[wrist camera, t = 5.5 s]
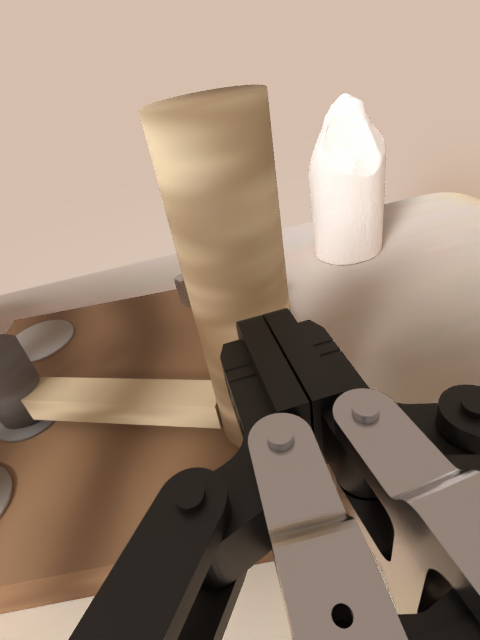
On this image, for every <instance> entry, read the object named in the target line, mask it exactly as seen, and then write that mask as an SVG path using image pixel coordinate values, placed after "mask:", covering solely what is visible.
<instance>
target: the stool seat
mask: <svg viewBox="0 0 480 640" xmlns="http://www.w3.org/2000/svg"><path fill="white" fill-rule="evenodd" d="M7 334H10V335H14V336H16V337H17V339H18V341H19V342H20V344H21V346H22V347H23V349H24V351H25V352H26V354H27V356H28V357H29V359H30V361H31V362H32V364H33V366H34V367H35V369H36V371H37V372H38V374H39V376H40V377H71V378H123V379H176V380H211V379H210V375H209V371H208V367H207V364H206V360H205V356H204V353H203V349H202V345H201V341H200V338H199V334H198V330H197V327H196V323H195V319H194V315H193V312H192V308H191V305H190V306H188V307H186V306H185V305H183V304H182V303H181V302H180V298H179V295H178V291H177V290H171V291H166V292H161V293H156V294H151V295H145V296H140V297H135V298H130V299H124V300H119V301H114V302H109V303H104V304H98V305H93V306H88V307H83V308H78V309H72V310H67V311H62V312H57V313H52V314H46V315H41V316H36V317H31V318H26V319H20V320H15V321H14V323H13V324H12V326H11V328H10V329H9V331H8V332H7ZM238 450H239V447H238V446H236V445H235V444H233V443H232V442H231V441H230V440H229V439H228V437H227V435H226V433H225V431H224V427H223V423H222V426H221V429H218V428H197V427H176V426H156V425H135V424H114V423H94V422H73V421H52V420H38V421H36V422H35V423H33V424H31V425H29V426H27V427H24V428H20V429H8V428H6V427H4V426H3V425H2V423H1V422H0V614H2V613H8V612H13V611H18V610H23V609H28V608H33V607H38V606H44V605H49V604H54V603H59V602H64V601H69V600H75V599H80V598H85V597H90V596H95V595H96V594H97V592H98V591H99V589H100V587H101V586H102V584H103V582H104V581H105V579H106V578H107V576H108V574H109V573H110V571H111V569H112V568H113V566H114V565H115V563H116V561H117V560H118V558H119V556H120V555H121V553H122V551H123V550H124V548H125V547H126V545H127V543H128V542H129V540H130V538H131V537H132V535H133V534H134V532H135V530H136V529H137V527H138V525H139V524H140V522H141V520H142V519H143V517H144V516H145V514H146V512H147V511H148V509H149V507H150V506H151V504H152V503H153V501H154V499H155V498H156V496H157V494H158V493H159V491H160V489H161V488H162V487H163V485H164V484H165V483H166V482H167V481H168V479H170V478H171V477H172V476H173V475H175V474H176V473H178V472H180V471H182V470H185V469H188V468H194V467H203V468H207V469H210V470H212V471H214V470H216V469H217V468H219V467H220V466H222V465H223V464H225V463H226V462H228V461H229V460H230V459H231V458H232V457H233V456H234V455H235V454H236V453H237V452H238ZM326 465H327V468H328V470H329V473H330V475H331V478H332V480H333V482H334V485H335V475H334V473H333V471H332V469H331V467H330V465H329V464H326ZM341 502H342V500H341ZM342 504H343V502H342ZM343 507H344V509H345V511H346V513H347V514H348V515H349V516H350V514H349V512H348V511H347V509H346V507H345V506H344V504H343ZM270 561H274V557H273V553H272V550H271V551H270V552H269V553H268V554H266V555H265V556H264V557H263V558H262V559H260V560H259V561H258V562H257V563H255V564H260V563H265V562H270ZM255 564H254V565H255Z"/></svg>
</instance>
